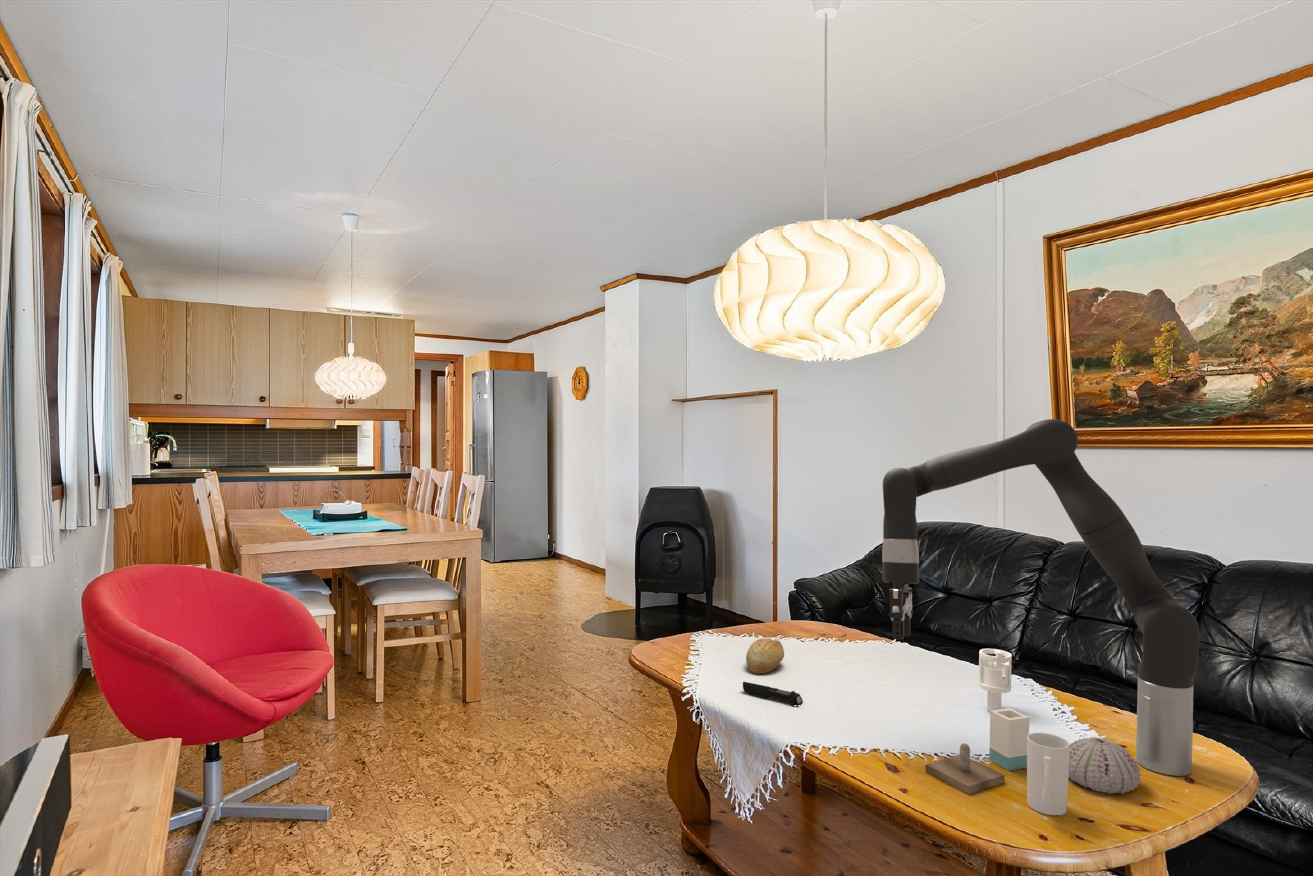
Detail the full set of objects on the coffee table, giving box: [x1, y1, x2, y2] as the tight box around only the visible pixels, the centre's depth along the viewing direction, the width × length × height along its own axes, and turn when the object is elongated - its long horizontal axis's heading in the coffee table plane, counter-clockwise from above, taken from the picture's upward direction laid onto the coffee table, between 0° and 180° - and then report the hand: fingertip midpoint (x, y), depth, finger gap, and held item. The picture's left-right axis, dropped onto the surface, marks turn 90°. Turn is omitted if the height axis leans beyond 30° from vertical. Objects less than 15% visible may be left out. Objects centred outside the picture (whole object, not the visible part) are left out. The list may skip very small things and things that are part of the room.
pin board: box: [925, 742, 1006, 795], centre depth 144 cm, size 10×10×6 cm
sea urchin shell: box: [1068, 736, 1142, 795], centre depth 143 cm, size 13×14×8 cm
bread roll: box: [745, 638, 785, 675], centre depth 208 cm, size 10×15×8 cm, turn 154°
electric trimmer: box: [742, 681, 804, 707], centre depth 185 cm, size 4×16×3 cm, turn 56°
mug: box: [1026, 732, 1071, 817], centre depth 132 cm, size 10×7×12 cm, turn 152°
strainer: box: [978, 648, 1013, 713], centre depth 178 cm, size 7×7×15 cm
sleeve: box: [988, 707, 1030, 771], centre depth 150 cm, size 5×5×10 cm
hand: (901, 637), depth 159 cm, fingers open, 8 cm apart
